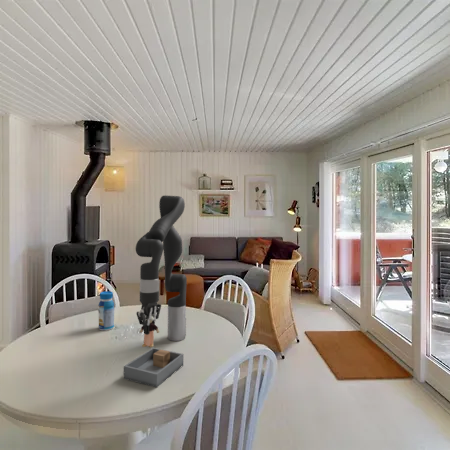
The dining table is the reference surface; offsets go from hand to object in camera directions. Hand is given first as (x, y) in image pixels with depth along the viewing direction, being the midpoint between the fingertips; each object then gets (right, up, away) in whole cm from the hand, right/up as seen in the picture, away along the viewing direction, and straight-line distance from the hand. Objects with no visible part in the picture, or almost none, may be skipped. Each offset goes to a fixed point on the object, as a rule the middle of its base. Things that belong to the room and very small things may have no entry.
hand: (149, 332), depth 134 cm
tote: (+1, -18, +4) cm, 18 cm away
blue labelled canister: (-36, -15, +53) cm, 65 cm away
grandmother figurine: (0, -6, 0) cm, 6 cm away
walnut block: (+3, -16, +9) cm, 19 cm away
